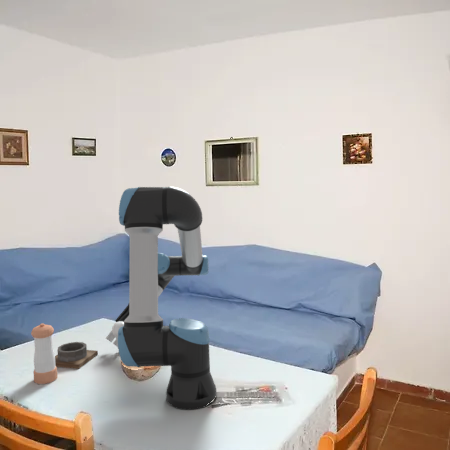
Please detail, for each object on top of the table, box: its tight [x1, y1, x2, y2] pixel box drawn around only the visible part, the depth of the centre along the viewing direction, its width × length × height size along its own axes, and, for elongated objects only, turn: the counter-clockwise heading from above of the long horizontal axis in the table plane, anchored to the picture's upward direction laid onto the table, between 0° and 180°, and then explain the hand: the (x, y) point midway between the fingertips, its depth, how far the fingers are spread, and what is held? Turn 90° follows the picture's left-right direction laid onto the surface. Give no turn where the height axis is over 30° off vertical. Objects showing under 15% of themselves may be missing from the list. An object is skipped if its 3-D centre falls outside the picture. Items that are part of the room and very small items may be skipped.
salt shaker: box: [30, 323, 58, 385], centre depth 151 cm, size 7×7×19 cm
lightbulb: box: [111, 321, 124, 339], centre depth 174 cm, size 6×6×11 cm
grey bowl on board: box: [55, 341, 99, 370], centre depth 167 cm, size 13×13×5 cm
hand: (112, 342), depth 172 cm, fingers closed on lightbulb, 6 cm apart
